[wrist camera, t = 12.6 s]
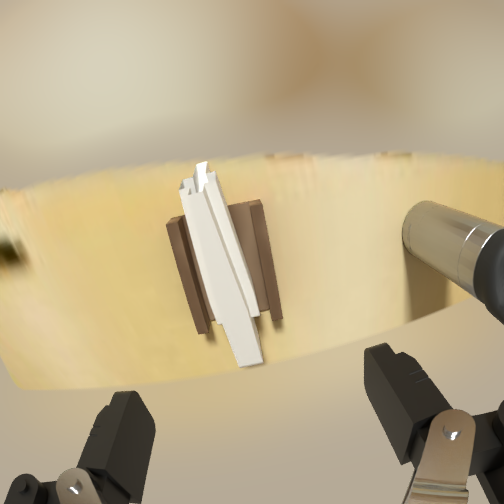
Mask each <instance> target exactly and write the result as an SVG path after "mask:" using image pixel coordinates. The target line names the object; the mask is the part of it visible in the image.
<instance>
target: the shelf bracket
mask: <svg viewBox="0 0 504 504" xmlns="http://www.w3.org/2000/svg"><path fill="white" fill-rule="evenodd" d="M179 193H180V197H181V201H182V205H183V209H184V213H185V217H186V220H187V224H188V228H189V232H190V236H191V239H192V243H193V247H194V250H195V254H196V258H197V261H198V265H199V268H200V272H201V275H202V279H203V282H204V286H205V289H206V293H207V296H208V299H209V303H210V306H211V308H212V311H213V314H214V316H215V319H216V321H217V324H218V325H221V324H222V325H223V327H224V330H225V332H226V335H227V338H228V340H229V343H230V345H231V348H232V350H233V353H234V355H235V358H236V360H237V363H238V365H239V367H240V368H243V367H248V366H253V365H257V364H262V363H264V362H263V357H262V351H261V345H260V340H259V335H258V330H257V327H256V324H255V320H254V317H257V316H260V312H259V308H258V303H257V299H256V295H255V290H254V286H253V282H252V278H251V275H250V272H249V269H248V266H247V263H246V260H245V257H244V254H243V251H242V248H241V246H240V243H239V240H238V237H237V234H236V231H235V228H234V225H233V222H232V219H231V216H230V213H229V210H228V207H227V204H226V201H225V198H224V195H223V192H222V189H221V186H220V183H219V180H218V177H217V174H216V171H213V172H210V169H209V166H208V163H207V161H206V162H202V163H199V164H196V167H195V171H194V174H193V177H191V178H187V179H183V180H182V183H181V186H180V188H179Z"/></svg>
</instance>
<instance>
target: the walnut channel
mask: <svg viewBox="0 0 504 504" xmlns="http://www.w3.org/2000/svg"><path fill="white" fill-rule="evenodd" d="M227 207H228V210H229V213H230V216H231V219H232V222H233V225H234V228H235V231H236V234H237V237H238V240H239V243H240V246H241V248H242V251H243V254H244V257H245V260H246V263H247V266H248V269H249V272H250V275H251V278H252V282H253V286H254V290H255V295H256V299H257V303H258V308H259V311H261V310H266V309H270V313H271V317H272V321H274V320H278V319H283V316H282V310H281V304H280V298H279V293H278V287H277V281H276V276H275V270H274V265H273V259H272V254H271V248H270V243H269V237H268V232H267V227H266V221H265V216H264V211H263V205H262V203H261V201H260V199H258V200H253V201H248V202H243V203H238V204H234V205H229V206H227ZM166 227H167V231H168V235H169V238H170V242H171V246H172V249H173V253H174V257H175V260H176V264H177V267H178V271H179V274H180V277H181V281H182V284H183V288H184V291H185V294H186V297H187V301H188V304H189V307H190V310H191V313H192V317H193V320H194V323H195V326H196V329H197V332H198V334H204V333H209V325H210V320H214V319H215V316H214V314H213V311H212V308H211V306H210V303H209V299H208V296H207V293H206V289H205V286H204V282H203V279H202V275H201V272H200V268H199V265H198V261H197V258H196V254H195V250H194V247H193V243H192V239H191V236H190V232H189V228H188V224H187V220H186V217H185V215H183V216H179V217H174V218H171V219H170V221H169V222H168V223H167V224H166Z"/></svg>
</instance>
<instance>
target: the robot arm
mask: <svg viewBox="0 0 504 504" xmlns="http://www.w3.org/2000/svg"><path fill="white" fill-rule="evenodd" d="M402 236H403V242H404V245H405V247H406V249H407V250H408V251H409V252H410V253H411V254H412V255H414V256H415V257H417V258H418V259H420V260H421V261H423V262H424V263H426V264H427V265H429V266H430V267H432V268H433V269H435V270H436V271H438V272H439V273H441V274H442V275H444V276H445V277H447V278H448V279H450V280H451V281H452V282H454V283H455V284H457V285H458V286H460V287H461V288H462V289H464V290H465V291H467V292H468V293H470V294H471V295H473V296H474V297H475V298H477V299H478V300H480V301H481V302H482V303H484V304H485V306H486V308H487V310H488V311H489V312H490V313H491V314H492V315H493V316H494V317H496V318H497V319H498V320H499V321H500V322H501V323H502V324H503V325H504V227H503V226H500V225H497V224H495V223H492V222H489V221H487V220H484V219H481V218H479V217H476V216H473V215H470V214H467V213H464V212H462V211H459V210H456V209H453V208H450V207H447V206H444V205H441V204H438V203H435V202H432V201H424V202H421V203H418V204H417V205H415V206H414V207H413V208H412V209H411V210H410V211H409V213H408V215H407V216H406V218H405V221H404V224H403V231H402ZM364 385H365V390H366V393H367V396H368V398H369V400H370V402H371V404H372V406H373V408H374V410H375V412H376V414H377V416H378V418H379V420H380V422H381V424H382V426H383V428H384V430H385V432H386V435H387V436H388V439H389V441H390V443H391V445H392V447H393V449H394V451H395V453H396V455H397V458H398V460H399V462H400V464H401V465H403V464H405V463H408V462H410V461H411V462H412V464H413V466H414V468H415V469H414V472H413V474H412V477H411V481H410V483H409V486H408V489H407V491H406V494H405V496H404V499H403V501H402V504H467V502H468V497H469V492H468V490H466V483H467V478H468V476H471V475H475V474H476V476H477V478H478V480H479V482H480V484H481V486H482V488H483V490H484V492H485V494H486V497H487V498H488V501H489V503H490V504H504V400H503V402H502V403H501V404H500V406H499V409H498V410H497V411H493V412H489V413H484V414H480V415H475V416H471V415H470V414H468V413H467V412H465V411H463V410H458V409H453V408H452V407H451V406H450V404H449V403H448V402H447V400H446V399H445V398H444V396H443V395H442V394H441V392H440V391H439V390H438V388H437V387H436V386H435V384H434V383H433V382H432V380H431V379H430V378H428V375H427V374H426V372H425V371H424V370H422V367H421V366H420V365H419V363H418V362H417V361H416V359H415V358H413V357H411V356H409V355H408V354H406V353H404V352H401V353H398V354H395V353H394V352H393V350H392V349H391V348H390V346H389V345H388V344H387V343H382V344H379V345H376V346H373V347H369V348H366V349H365V351H364ZM155 431H156V430H155V423H154V420H153V418H152V416H151V414H150V413H149V411H148V409H147V408H146V406H145V404H144V403H143V401H142V399H141V397H140V396H139V394H138V393H137V392H136V391H121V392H115V393H114V395H113V397H112V400H111V402H110V405H109V406H108V405H107V406H105V407H104V408H103V409H102V411H101V412H100V413H99V414H98V415H97V417H96V420H95V422H94V425H93V428H92V429H91V432H90V436H89V437H88V439H87V442H86V444H85V447H84V449H83V452H82V455H81V457H80V460H79V462H78V465H77V467H76V468H71V469H68V470H66V471H64V472H63V473H62V474H61V475H60V476H59V478H58V479H57V481H52V482H44V483H40V482H39V481H38V480H37V479H36V478H35V477H34V476H33V475H31V474H22V475H20V476H18V477H17V478H15V480H14V481H13V482H12V484H11V487H10V489H9V492H8V494H7V497H6V500H5V502H4V504H129V503H137V504H141V501H142V496H143V490H144V485H145V480H146V475H147V470H148V465H149V460H150V456H151V451H152V446H153V442H154V437H155Z"/></svg>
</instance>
